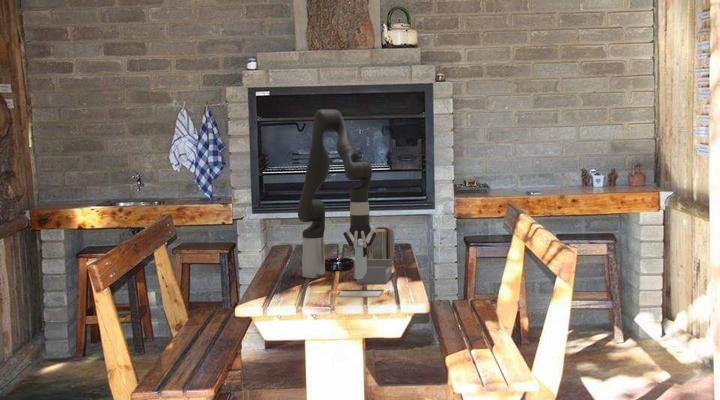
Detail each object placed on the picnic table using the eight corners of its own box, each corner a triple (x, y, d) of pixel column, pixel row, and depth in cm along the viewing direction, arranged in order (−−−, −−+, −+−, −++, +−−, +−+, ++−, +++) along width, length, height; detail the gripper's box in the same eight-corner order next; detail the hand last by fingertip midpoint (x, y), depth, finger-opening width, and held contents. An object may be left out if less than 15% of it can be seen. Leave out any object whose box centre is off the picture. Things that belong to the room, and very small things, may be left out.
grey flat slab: (355, 279, 347) (354, 248, 346) (360, 272, 360) (360, 243, 358) (361, 279, 347) (360, 248, 345) (366, 272, 359) (366, 242, 358)
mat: (338, 296, 348) (338, 295, 348) (345, 288, 362) (344, 287, 362) (379, 297, 346) (379, 295, 346) (384, 289, 359) (384, 287, 359)
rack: (356, 286, 366) (356, 267, 365) (363, 277, 384) (363, 259, 383) (386, 286, 364) (385, 267, 363) (391, 277, 382) (391, 259, 381)
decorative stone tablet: (384, 229, 386) (396, 225, 415) (369, 228, 387) (382, 225, 417) (384, 273, 386) (396, 266, 416) (370, 273, 388) (382, 266, 417)
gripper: (340, 214, 348) (341, 258, 350) (375, 214, 345) (377, 258, 347) (343, 212, 355) (345, 255, 357) (378, 211, 353) (379, 255, 355)
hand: (360, 256), depth 352 cm, fingers closed on grey flat slab, 2 cm apart
